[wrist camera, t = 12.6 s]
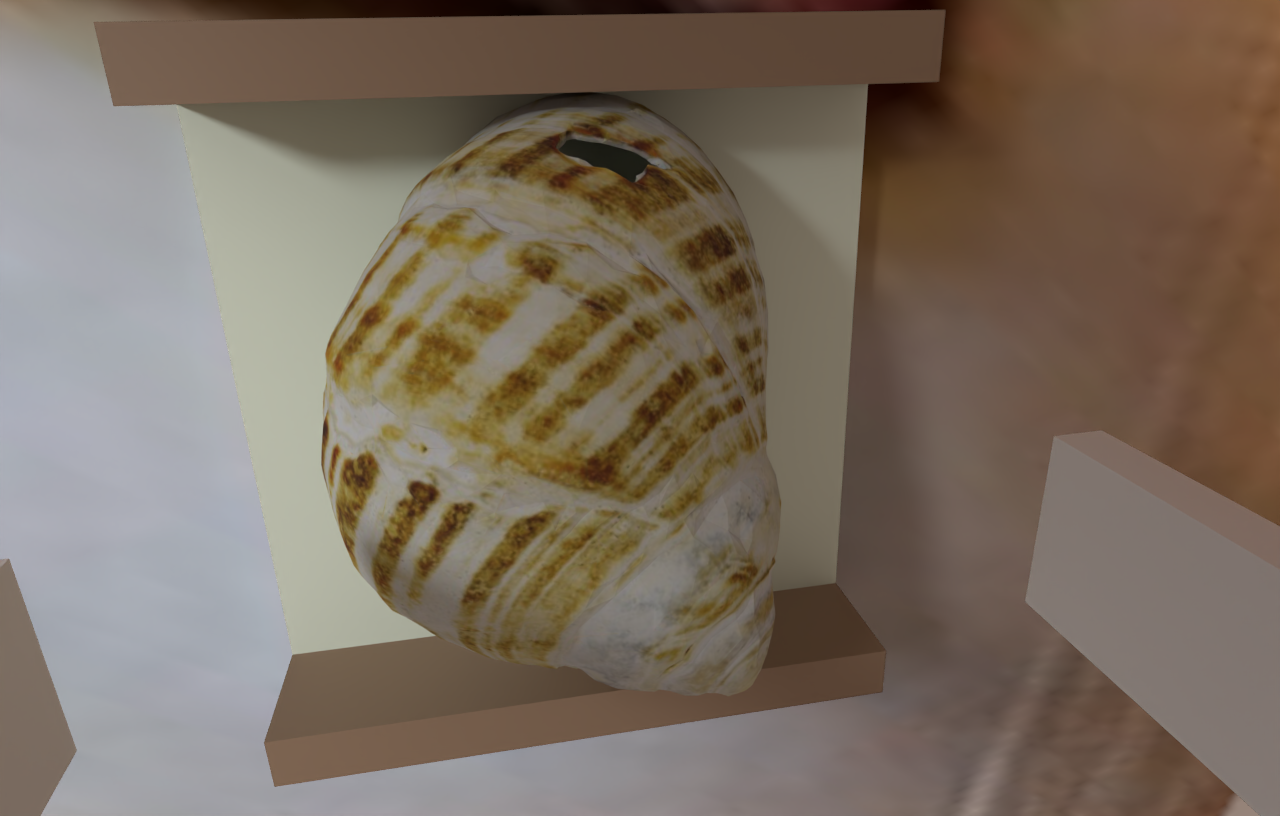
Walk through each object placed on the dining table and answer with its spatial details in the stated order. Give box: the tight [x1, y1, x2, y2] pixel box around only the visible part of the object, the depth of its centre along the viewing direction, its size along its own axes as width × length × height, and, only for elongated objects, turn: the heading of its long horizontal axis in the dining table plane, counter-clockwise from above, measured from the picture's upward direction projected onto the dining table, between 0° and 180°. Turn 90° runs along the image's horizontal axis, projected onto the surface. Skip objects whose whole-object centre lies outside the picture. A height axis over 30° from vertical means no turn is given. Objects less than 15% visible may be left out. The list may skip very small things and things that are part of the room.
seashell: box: [321, 92, 781, 696], centre depth 16 cm, size 10×10×10 cm
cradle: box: [94, 10, 946, 787], centre depth 18 cm, size 14×15×4 cm
